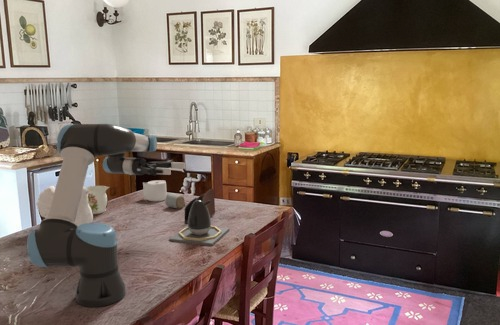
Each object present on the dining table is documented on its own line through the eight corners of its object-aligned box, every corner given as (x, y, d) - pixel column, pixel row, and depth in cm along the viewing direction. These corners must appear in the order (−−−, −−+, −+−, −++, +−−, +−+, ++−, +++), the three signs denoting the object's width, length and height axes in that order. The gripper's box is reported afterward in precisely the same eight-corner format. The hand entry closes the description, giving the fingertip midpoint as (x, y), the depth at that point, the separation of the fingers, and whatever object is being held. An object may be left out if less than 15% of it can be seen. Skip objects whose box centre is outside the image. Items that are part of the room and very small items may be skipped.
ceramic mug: (177, 210, 238) (176, 196, 237) (165, 208, 243) (164, 194, 241) (189, 205, 248) (189, 192, 246) (177, 203, 252) (177, 190, 250)
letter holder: (215, 212, 234) (214, 186, 231) (204, 225, 214) (203, 196, 212) (196, 212, 236) (195, 185, 233) (184, 224, 216) (183, 195, 214)
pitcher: (85, 208, 244) (82, 183, 241) (116, 209, 240) (114, 184, 238) (73, 214, 233) (71, 188, 230) (106, 216, 230) (104, 189, 227)
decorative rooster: (101, 227, 212) (97, 176, 207) (78, 238, 197) (73, 183, 193) (58, 222, 220) (53, 172, 215) (33, 233, 205) (27, 179, 201)
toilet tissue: (169, 199, 259) (168, 182, 258) (149, 202, 253) (148, 185, 252) (163, 195, 268) (162, 179, 267) (143, 198, 263) (142, 181, 261)
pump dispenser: (214, 235, 197) (213, 201, 194) (191, 238, 193) (189, 204, 190) (208, 228, 206) (207, 196, 203) (185, 231, 202) (184, 198, 200)
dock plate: (212, 245, 187) (212, 241, 187) (169, 240, 194) (169, 236, 193) (229, 230, 206) (229, 226, 206) (189, 226, 212) (189, 222, 212)
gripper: (150, 169, 216) (190, 171, 210) (119, 180, 193) (164, 183, 186) (149, 153, 215) (189, 155, 208) (118, 162, 192) (163, 165, 185)
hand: (177, 168), depth 197 cm, fingers open, 13 cm apart
